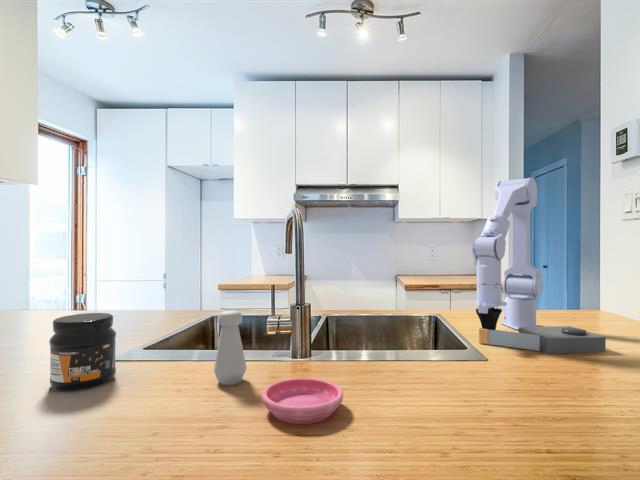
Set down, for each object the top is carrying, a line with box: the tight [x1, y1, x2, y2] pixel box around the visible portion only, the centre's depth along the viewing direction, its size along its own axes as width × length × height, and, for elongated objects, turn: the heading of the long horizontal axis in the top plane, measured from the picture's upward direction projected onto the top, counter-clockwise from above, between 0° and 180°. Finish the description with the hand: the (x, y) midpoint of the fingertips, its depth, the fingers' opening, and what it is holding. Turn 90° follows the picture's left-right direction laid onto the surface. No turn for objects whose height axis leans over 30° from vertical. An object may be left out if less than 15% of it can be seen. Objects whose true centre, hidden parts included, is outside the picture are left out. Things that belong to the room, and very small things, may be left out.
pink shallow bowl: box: [261, 377, 344, 425], centre depth 60 cm, size 12×12×3 cm
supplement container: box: [49, 312, 117, 392], centre depth 72 cm, size 10×10×12 cm
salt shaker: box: [213, 309, 247, 386], centre depth 72 cm, size 6×6×13 cm
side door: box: [478, 327, 541, 352], centre depth 94 cm, size 13×1×4 cm, turn 56°
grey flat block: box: [518, 325, 607, 355], centre depth 95 cm, size 12×14×4 cm
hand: (489, 337), depth 98 cm, fingers closed
